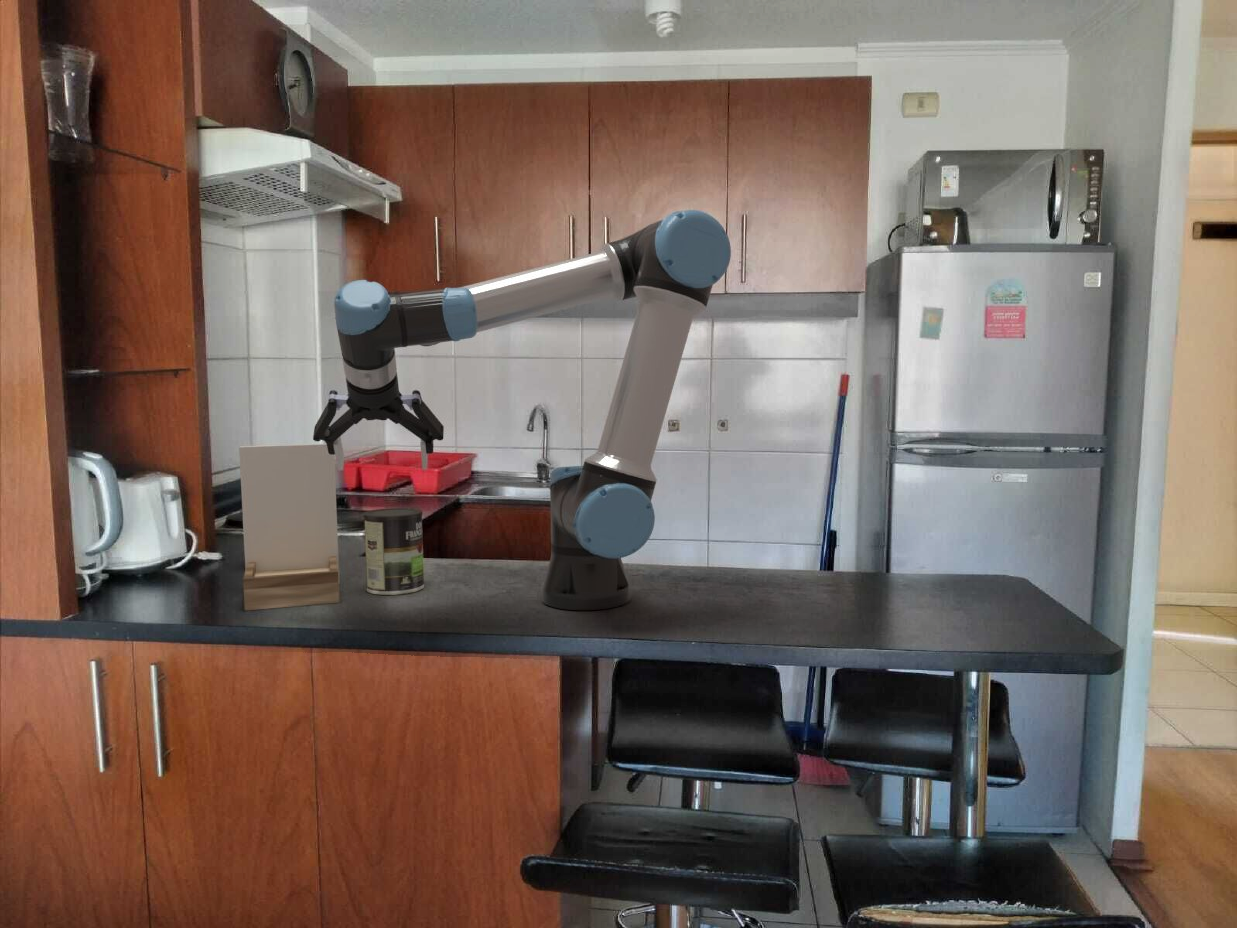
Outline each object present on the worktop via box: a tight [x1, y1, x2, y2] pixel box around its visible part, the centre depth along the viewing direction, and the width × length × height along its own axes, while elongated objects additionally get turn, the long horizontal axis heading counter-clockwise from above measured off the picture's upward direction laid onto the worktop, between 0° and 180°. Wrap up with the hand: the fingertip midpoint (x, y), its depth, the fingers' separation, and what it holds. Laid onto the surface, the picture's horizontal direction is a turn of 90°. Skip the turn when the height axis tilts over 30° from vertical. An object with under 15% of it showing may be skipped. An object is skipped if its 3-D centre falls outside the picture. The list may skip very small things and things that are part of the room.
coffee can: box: [362, 507, 425, 596], centre depth 168 cm, size 10×10×14 cm
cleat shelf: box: [242, 556, 340, 611], centre depth 162 cm, size 14×15×5 cm
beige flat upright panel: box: [238, 443, 340, 585], centre depth 169 cm, size 2×16×26 cm, turn 109°
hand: (383, 463), depth 155 cm, fingers open, 13 cm apart
